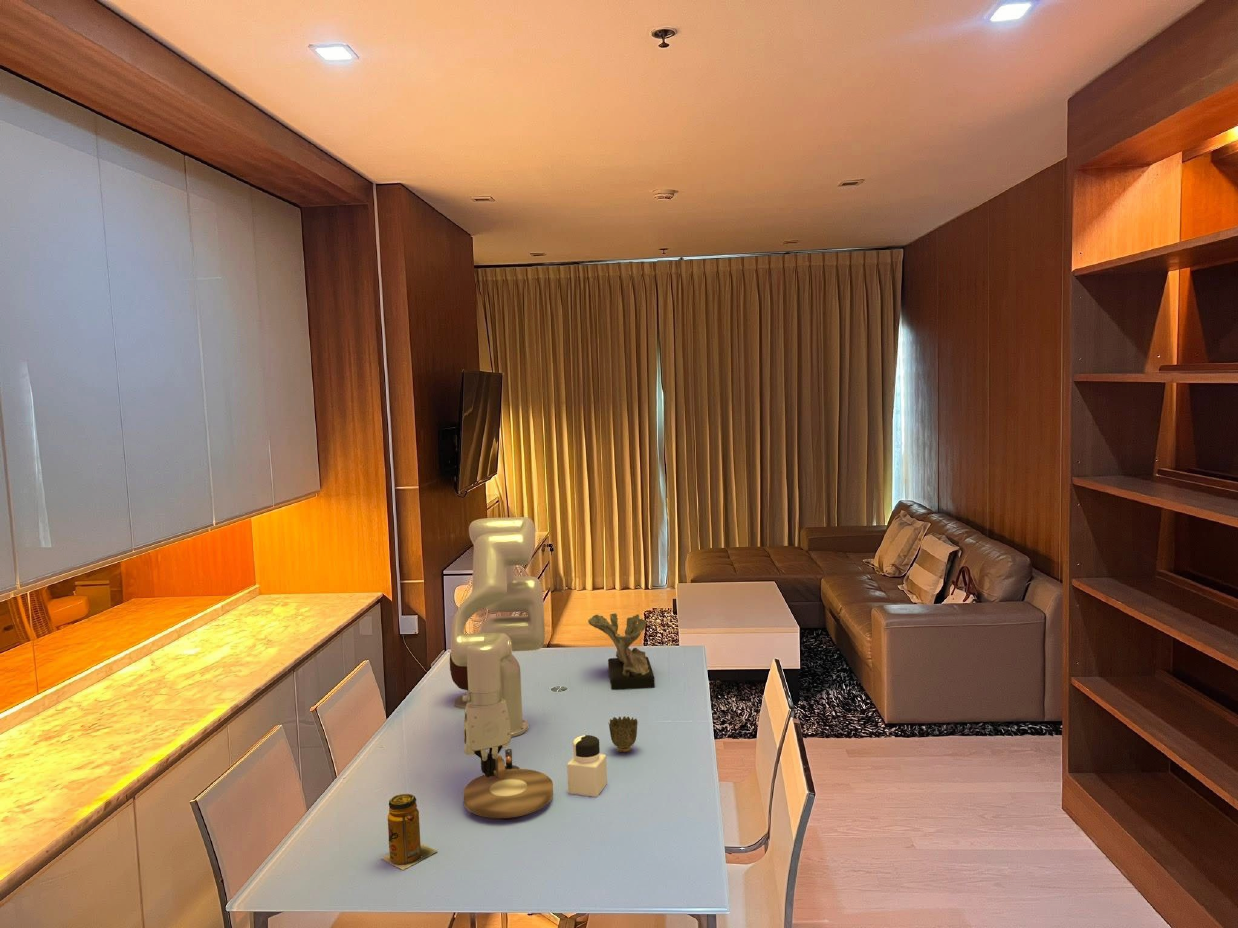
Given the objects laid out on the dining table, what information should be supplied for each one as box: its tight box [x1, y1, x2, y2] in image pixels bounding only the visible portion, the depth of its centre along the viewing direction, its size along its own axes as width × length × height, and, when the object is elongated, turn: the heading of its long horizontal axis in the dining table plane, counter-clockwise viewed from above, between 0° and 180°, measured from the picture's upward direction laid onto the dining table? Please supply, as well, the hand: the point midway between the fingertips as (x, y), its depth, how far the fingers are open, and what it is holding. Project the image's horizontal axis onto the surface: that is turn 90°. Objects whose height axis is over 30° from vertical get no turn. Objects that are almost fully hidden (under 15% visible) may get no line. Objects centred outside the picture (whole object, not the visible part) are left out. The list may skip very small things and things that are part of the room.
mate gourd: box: [449, 651, 469, 710], centre depth 254 cm, size 16×14×20 cm
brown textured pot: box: [608, 715, 639, 754], centre depth 214 cm, size 8×7×8 cm
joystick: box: [504, 748, 521, 770], centre depth 203 cm, size 7×5×6 cm
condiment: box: [381, 793, 438, 871], centre depth 167 cm, size 7×8×12 cm
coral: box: [587, 613, 656, 691], centre depth 270 cm, size 25×20×22 cm
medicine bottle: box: [566, 734, 608, 798], centre depth 194 cm, size 7×7×12 cm
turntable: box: [462, 754, 554, 819], centre depth 188 cm, size 20×20×6 cm
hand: (488, 774), depth 193 cm, fingers closed
